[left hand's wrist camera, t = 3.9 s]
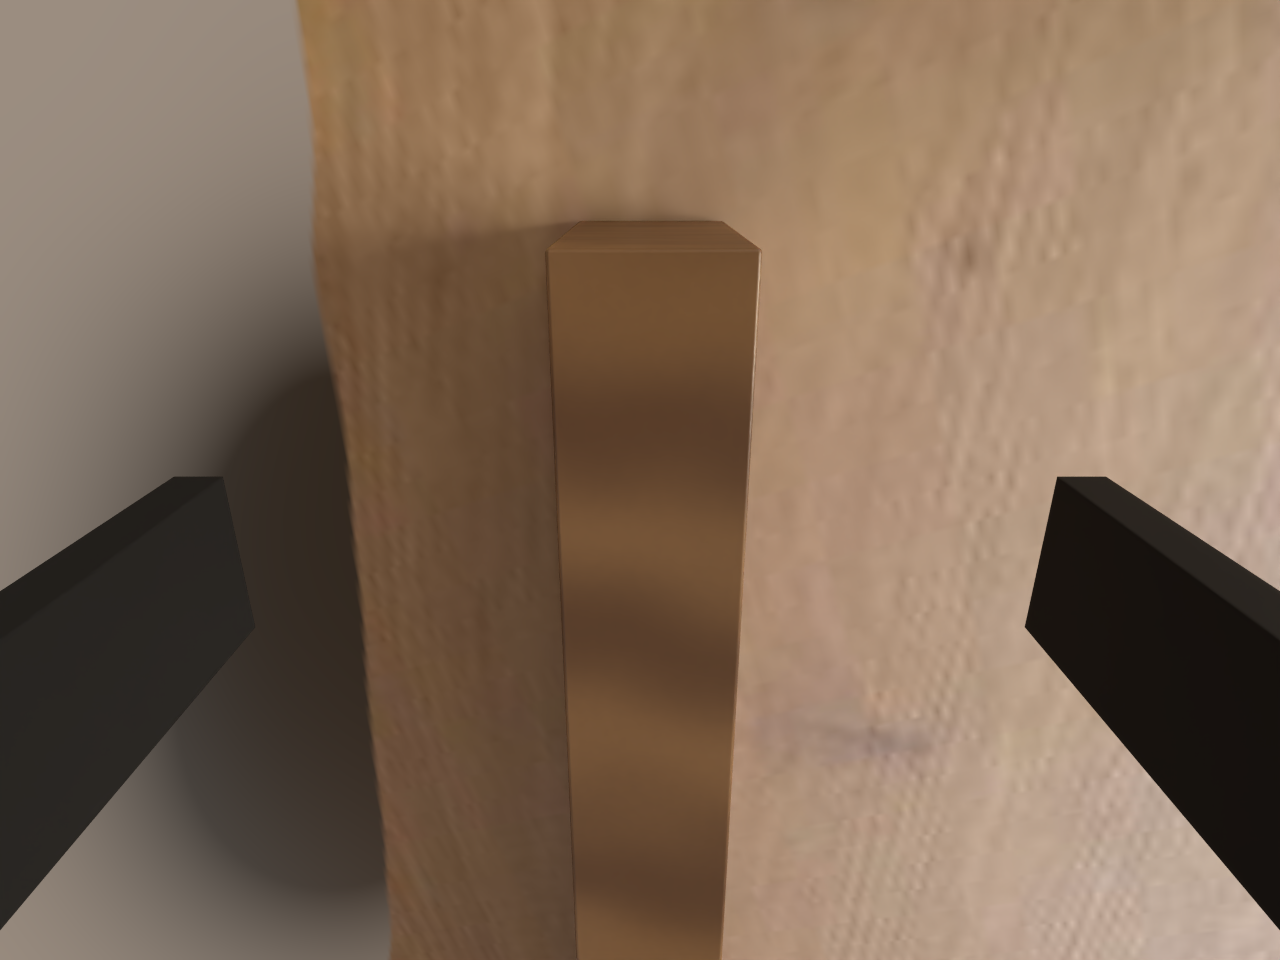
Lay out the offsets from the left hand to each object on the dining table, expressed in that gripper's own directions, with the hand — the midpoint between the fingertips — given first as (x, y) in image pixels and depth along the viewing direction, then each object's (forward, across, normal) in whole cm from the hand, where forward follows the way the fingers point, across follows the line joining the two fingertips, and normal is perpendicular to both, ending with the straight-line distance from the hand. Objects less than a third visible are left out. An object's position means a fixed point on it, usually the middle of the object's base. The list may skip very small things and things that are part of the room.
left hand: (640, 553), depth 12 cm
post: (+14, 0, -26) cm, 30 cm away
